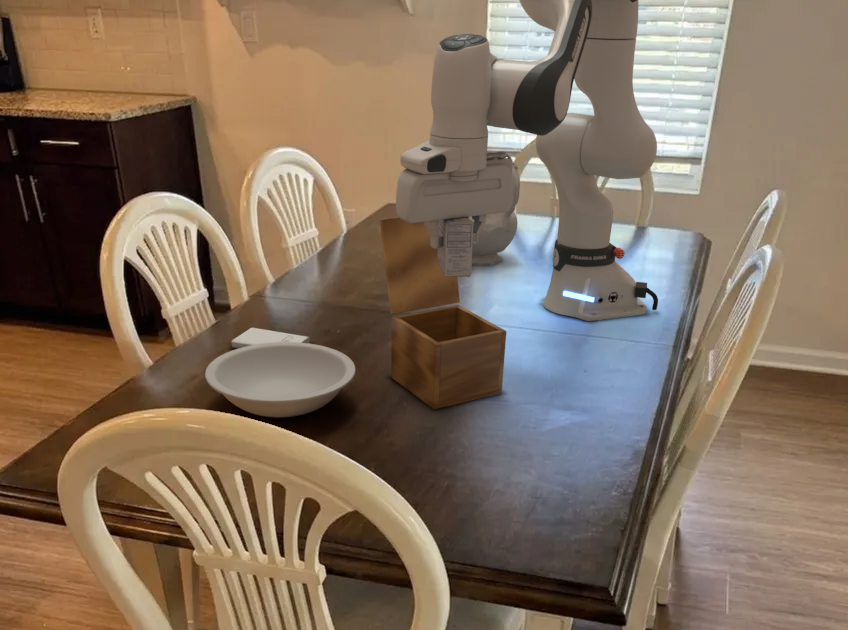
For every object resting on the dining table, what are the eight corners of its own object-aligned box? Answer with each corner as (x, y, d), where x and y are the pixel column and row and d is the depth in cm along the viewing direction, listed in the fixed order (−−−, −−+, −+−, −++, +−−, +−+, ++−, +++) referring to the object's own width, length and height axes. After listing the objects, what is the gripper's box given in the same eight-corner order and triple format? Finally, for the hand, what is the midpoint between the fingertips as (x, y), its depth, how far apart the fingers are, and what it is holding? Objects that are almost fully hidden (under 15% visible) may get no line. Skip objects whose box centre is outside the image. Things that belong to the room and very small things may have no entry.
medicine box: (471, 277, 137) (474, 222, 132) (444, 277, 136) (446, 222, 131) (462, 263, 143) (465, 210, 139) (436, 263, 143) (438, 210, 138)
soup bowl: (292, 454, 127) (290, 414, 123) (177, 413, 137) (172, 375, 134) (384, 398, 144) (384, 362, 141) (276, 366, 155) (273, 331, 151)
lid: (452, 211, 147) (449, 211, 147) (381, 219, 140) (379, 219, 141) (459, 302, 152) (457, 302, 152) (392, 314, 145) (390, 313, 146)
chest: (501, 393, 148) (506, 330, 142) (434, 409, 141) (436, 344, 135) (455, 363, 158) (458, 304, 152) (391, 377, 152) (391, 316, 146)
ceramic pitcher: (534, 263, 220) (546, 161, 208) (498, 275, 205) (510, 166, 193) (462, 249, 230) (470, 151, 218) (423, 260, 215) (430, 155, 203)
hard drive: (253, 334, 168) (310, 343, 165) (231, 348, 161) (290, 358, 158) (252, 326, 167) (309, 335, 164) (231, 340, 161) (290, 350, 157)
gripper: (501, 147, 137) (495, 233, 145) (391, 155, 128) (390, 247, 135) (524, 153, 133) (517, 242, 140) (412, 162, 123) (410, 257, 131)
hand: (454, 245), depth 137 cm, fingers closed on medicine box, 5 cm apart
